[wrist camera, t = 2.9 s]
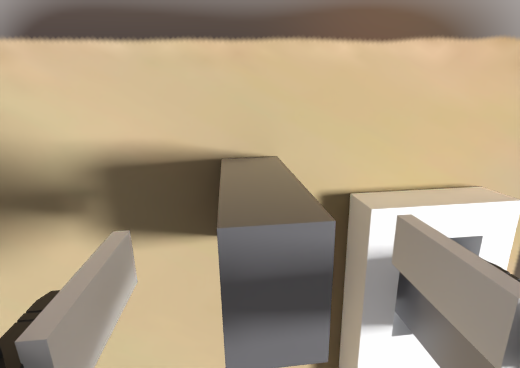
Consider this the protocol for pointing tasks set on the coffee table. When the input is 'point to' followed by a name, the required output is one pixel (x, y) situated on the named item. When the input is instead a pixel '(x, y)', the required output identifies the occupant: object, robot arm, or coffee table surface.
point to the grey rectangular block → (273, 266)
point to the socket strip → (382, 276)
